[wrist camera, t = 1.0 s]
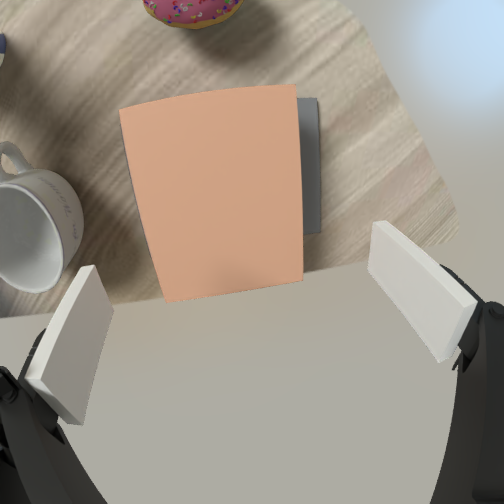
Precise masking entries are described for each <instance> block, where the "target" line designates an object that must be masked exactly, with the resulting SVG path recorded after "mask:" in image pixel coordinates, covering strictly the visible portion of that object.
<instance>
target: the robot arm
mask: <svg viewBox="0 0 504 504" xmlns="http://www.w3.org/2000/svg"><path fill="white" fill-rule="evenodd" d="M367 271H368V272H369V273H370V274H371V276H372V277H373V278H374V279H375V280H376V282H377V283H378V284H379V285H380V286H381V288H382V289H383V290H384V291H385V293H386V294H387V295H388V296H389V298H390V299H391V300H392V301H393V303H394V304H395V305H396V307H397V308H398V309H399V310H400V312H401V313H402V314H403V315H404V317H405V318H406V319H407V321H408V322H409V323H410V325H411V326H412V327H413V329H414V330H415V331H416V333H417V334H418V335H419V337H420V338H421V340H422V341H423V342H424V344H425V345H426V346H427V348H428V349H429V351H430V352H431V353H432V355H433V356H434V358H435V359H436V360H437V362H438V363H439V362H441V361H443V360H446V359H448V358H450V357H452V355H453V353H454V352H455V350H456V348H457V346H459V348H460V349H461V350H462V351H461V353H460V355H459V356H458V358H457V360H456V362H455V364H454V365H453V368H452V370H455V368H456V366H457V365H458V370H457V371H458V377H457V386H456V395H455V403H454V409H453V416H452V422H451V427H450V432H449V437H448V443H447V446H446V451H445V455H444V459H443V463H442V467H441V470H440V474H439V477H438V480H437V484H436V487H435V490H434V493H433V496H432V499H431V502H430V504H504V306H503V305H501V304H499V303H497V302H492V301H490V302H487V303H485V302H484V301H483V300H482V299H481V298H480V297H479V296H478V295H477V294H476V293H475V292H474V291H473V290H472V289H471V288H470V287H469V286H468V285H467V284H464V281H462V280H461V279H460V278H458V276H457V275H456V274H455V273H454V272H453V271H452V270H450V269H449V268H447V267H445V266H443V265H441V264H440V265H439V264H438V263H436V262H435V261H434V260H433V259H432V258H431V257H430V256H429V255H427V254H426V253H425V252H424V251H423V250H422V249H420V248H419V247H418V246H417V245H416V244H415V243H413V242H412V241H411V240H410V239H409V238H407V237H406V236H405V235H404V234H402V233H401V232H400V231H399V230H397V229H396V228H395V227H394V226H392V225H391V224H390V223H389V222H387V221H386V220H384V221H377V222H373V227H372V237H371V246H370V254H369V262H368V269H367ZM113 312H114V310H113V307H112V305H111V303H110V301H109V298H108V296H107V294H106V291H105V289H104V287H103V284H102V282H101V279H100V277H99V274H98V272H97V269H96V267H95V265H89V266H84V267H81V268H80V270H79V272H78V273H77V275H76V276H75V278H74V280H73V281H72V283H71V285H70V287H69V288H68V290H67V292H66V294H65V295H64V297H63V299H62V301H61V302H60V304H59V306H58V308H57V310H56V312H55V314H54V316H53V317H52V319H51V321H50V323H49V325H48V327H47V329H44V330H43V331H42V332H41V333H40V334H39V335H38V337H37V338H36V340H35V342H34V344H33V346H32V347H33V348H32V349H31V350H30V353H29V356H28V357H27V359H26V361H25V364H24V366H23V368H22V370H21V373H20V375H19V377H18V380H16V379H15V378H14V376H13V375H12V374H11V373H10V372H9V370H8V369H7V368H6V367H4V366H0V504H107V502H106V501H105V499H104V498H103V497H102V495H101V494H100V493H99V491H98V490H97V488H96V487H95V485H94V484H93V482H92V481H91V479H90V478H89V476H88V474H87V473H86V471H85V470H84V468H83V466H82V465H81V463H80V461H79V459H78V458H77V456H76V454H75V452H74V451H73V449H72V447H71V445H70V443H69V442H68V440H67V438H66V436H65V434H64V432H63V430H62V428H61V426H60V425H59V424H58V423H57V420H58V416H60V417H61V418H62V419H63V420H64V421H65V422H66V423H67V424H74V425H83V423H84V419H85V414H86V409H87V404H88V400H89V396H90V392H91V388H92V384H93V380H94V376H95V372H96V369H97V364H98V361H99V358H100V354H101V351H102V347H103V344H104V341H105V338H106V334H107V331H108V328H109V325H110V322H111V319H112V315H113Z"/></svg>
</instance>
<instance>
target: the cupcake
mask: <svg viewBox="0 0 504 504" xmlns="http://www.w3.org/2000/svg"><path fill="white" fill-rule="evenodd" d="M243 1H244V0H143V4H144V7H145V9H146V11H147V12H148V13H149V14H150V15H151V16H153V17H154V18H156V19H157V20H160V21H161V22H163V23H164V24H166V25H168V26H171V27H179V28H189V29H200V28H204V27H207V26H210V25H214V24H217V23H220V22H223V21H225V20H226V19H228V18H229V17H230V16H232V15H233V14H234V13H235V12H236V11H237V10H238V8H239V7H240V6H241V4H242V3H243Z"/></svg>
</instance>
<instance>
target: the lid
mask: <svg viewBox="0 0 504 504" xmlns="http://www.w3.org/2000/svg"><path fill="white" fill-rule="evenodd" d="M119 114H120V120H121V127H122V132H123V138H124V144H125V149H126V154H127V159H128V164H129V169H130V174H131V178H132V183H133V187H134V192H135V196H136V200H137V204H138V209H139V213H140V216H141V220H142V224H143V228H144V232H145V235H146V239H147V243H148V246H149V250H150V253H151V257H152V260H153V263H154V267H155V270H156V273H157V276H158V280H159V283H160V286H161V289H162V292H163V295H164V298H165V301H166V303H168V302H176V301H183V300H189V299H196V298H203V297H209V296H216V295H222V294H228V293H234V292H240V291H247V290H252V289H258V288H264V287H270V286H275V285H280V284H287V283H292V282H298V281H303V211H302V180H301V157H300V139H299V123H298V109H297V96H296V84H289V85H266V86H251V87H240V88H230V89H221V90H213V91H206V92H199V93H193V94H187V95H181V96H176V97H170V98H165V99H160V100H156V101H151V102H147V103H142V104H138V105H134V106H130V107H126V108H123V109H119Z"/></svg>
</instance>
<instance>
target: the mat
mask: <svg viewBox="0 0 504 504" xmlns="http://www.w3.org/2000/svg"><path fill="white" fill-rule="evenodd" d="M297 109H298V123H299V139H300V157H301V180H302V211H303V235H304V234H311V233H317V232H320V152H319V128H318V110H317V98H297ZM120 126H121V124H120ZM121 132H122V127H121ZM122 138H123V132H122ZM123 143H124V138H123ZM124 149H125V144H124ZM125 154H126V149H125ZM126 159H127V154H126ZM127 164H128V159H127ZM128 169H129V164H128ZM129 174H130V169H129ZM130 178H131V174H130ZM131 183H132V178H131ZM132 187H133V183H132ZM133 191H134V187H133ZM134 196H135V192H134ZM135 200H136V196H135ZM136 204H137V200H136ZM137 208H138V204H137ZM138 212H139V209H138ZM139 216H140V213H139ZM140 220H141V216H140ZM141 224H142V220H141ZM142 228H143V224H142ZM143 231H144V228H143ZM144 235H145V232H144ZM145 239H146V235H145ZM146 242H147V239H146ZM147 246H148V243H147ZM148 249H149V246H148ZM149 253H150V250H149ZM150 256H151V253H150ZM151 259H152V257H151Z"/></svg>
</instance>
